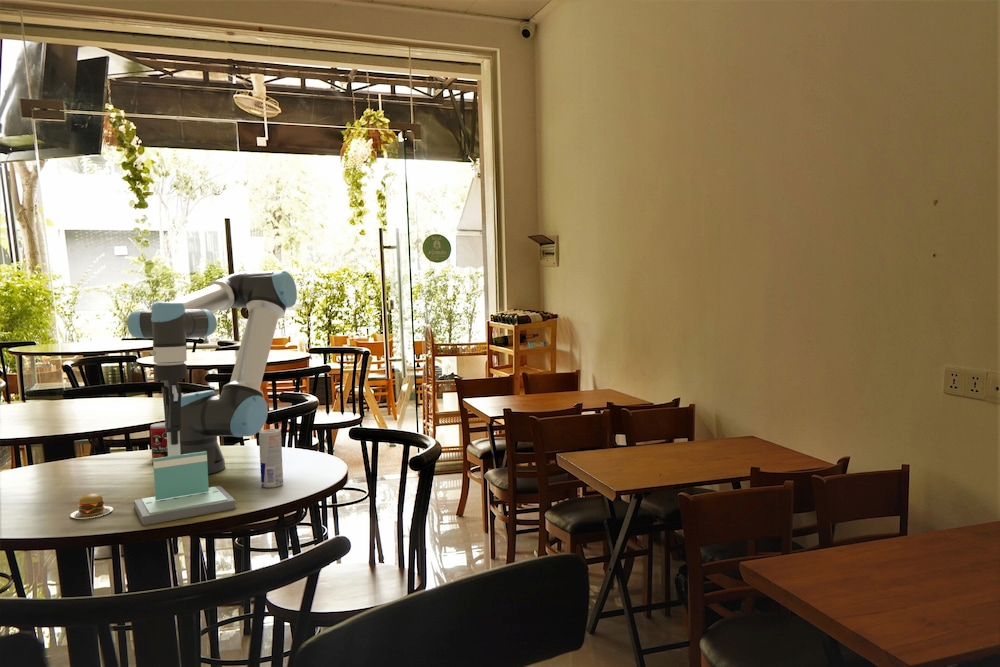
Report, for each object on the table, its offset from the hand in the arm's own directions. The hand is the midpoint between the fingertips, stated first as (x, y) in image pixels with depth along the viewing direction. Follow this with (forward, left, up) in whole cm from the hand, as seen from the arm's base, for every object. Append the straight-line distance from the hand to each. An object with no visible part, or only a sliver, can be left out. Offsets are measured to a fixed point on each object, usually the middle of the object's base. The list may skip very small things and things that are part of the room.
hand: (174, 456), depth 178 cm
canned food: (-52, +5, -11) cm, 54 cm away
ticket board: (+10, 0, -11) cm, 15 cm away
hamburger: (0, -19, -12) cm, 22 cm away
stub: (+8, 0, -8) cm, 11 cm away
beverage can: (+3, +23, -11) cm, 26 cm away
